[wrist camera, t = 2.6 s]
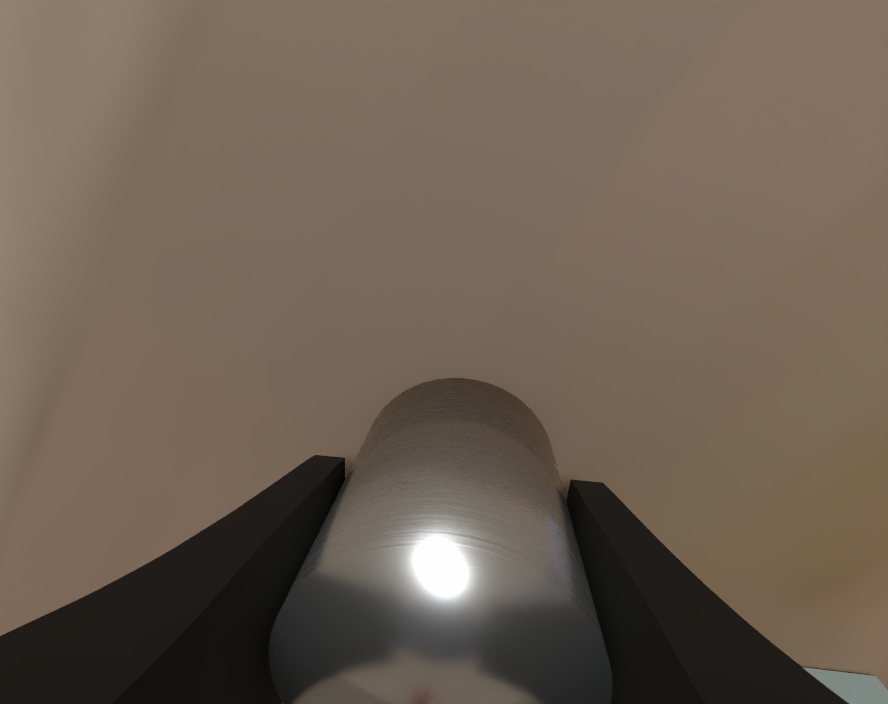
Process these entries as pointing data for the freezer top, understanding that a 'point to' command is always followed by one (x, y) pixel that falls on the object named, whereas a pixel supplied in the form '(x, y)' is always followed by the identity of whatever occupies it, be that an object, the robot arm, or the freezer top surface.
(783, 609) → the freezer top surface
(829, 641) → the freezer top surface
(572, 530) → the cylinder
